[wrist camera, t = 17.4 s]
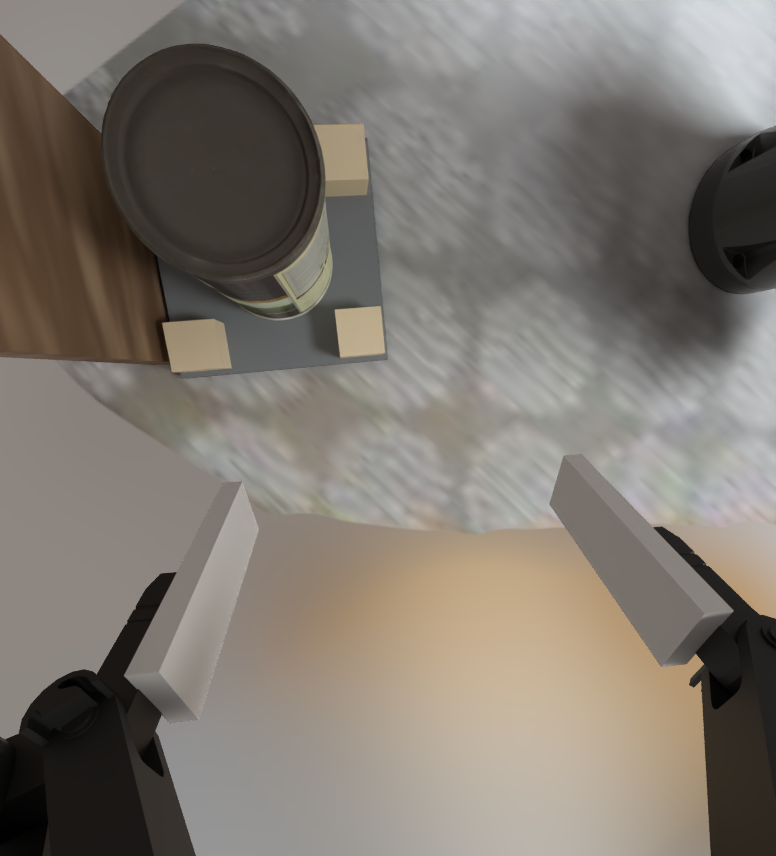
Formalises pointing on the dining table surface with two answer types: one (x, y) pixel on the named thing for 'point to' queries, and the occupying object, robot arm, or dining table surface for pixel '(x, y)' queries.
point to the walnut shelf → (67, 237)
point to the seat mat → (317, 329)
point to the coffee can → (221, 176)
